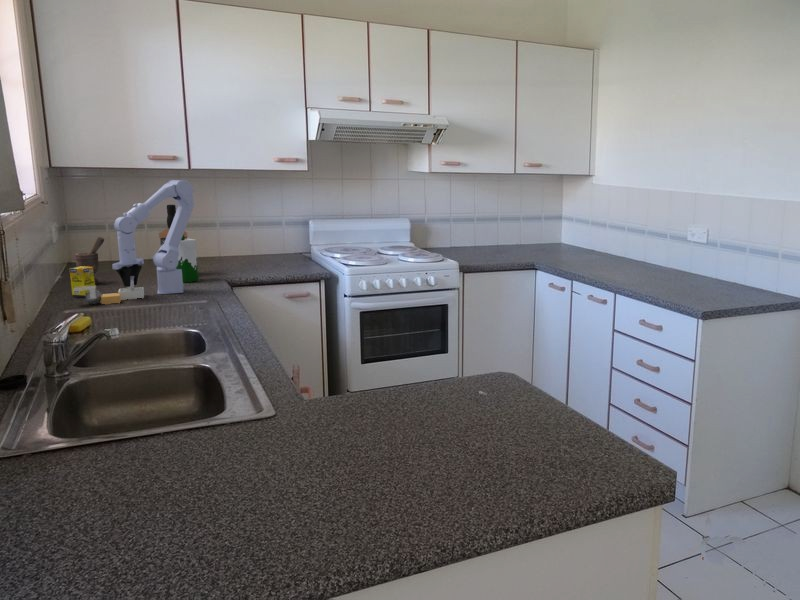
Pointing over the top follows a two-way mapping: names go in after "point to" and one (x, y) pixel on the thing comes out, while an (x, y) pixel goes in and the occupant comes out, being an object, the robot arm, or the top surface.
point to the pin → (131, 284)
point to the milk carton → (188, 260)
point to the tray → (131, 293)
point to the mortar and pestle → (90, 257)
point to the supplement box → (81, 279)
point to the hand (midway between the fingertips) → (130, 285)
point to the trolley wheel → (90, 294)
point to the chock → (110, 298)
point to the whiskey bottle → (169, 224)
